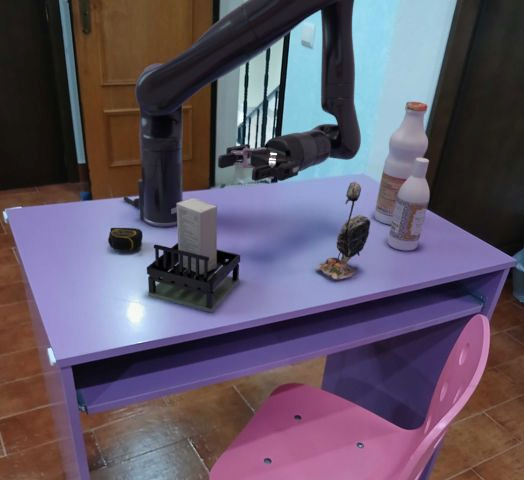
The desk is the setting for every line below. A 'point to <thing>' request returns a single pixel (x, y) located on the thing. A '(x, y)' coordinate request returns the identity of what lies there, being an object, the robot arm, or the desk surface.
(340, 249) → the plant with pod
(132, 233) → the tape measure
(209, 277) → the dish rack
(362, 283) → the desk surface
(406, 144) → the fruit juice
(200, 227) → the cosmetic box
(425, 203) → the bath foam
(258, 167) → the robot arm
